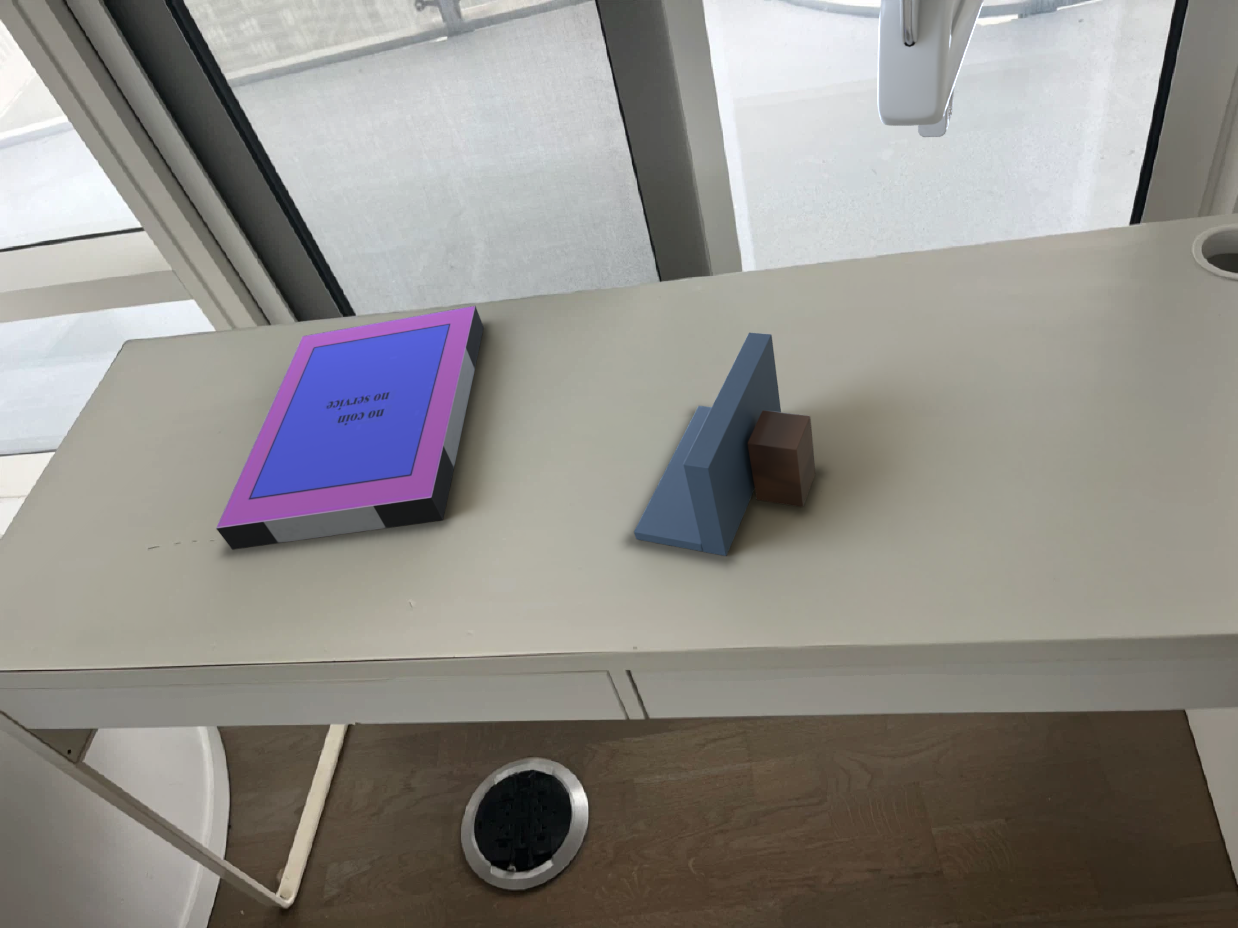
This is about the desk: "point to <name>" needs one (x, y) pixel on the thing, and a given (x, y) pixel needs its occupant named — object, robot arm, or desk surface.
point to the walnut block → (782, 457)
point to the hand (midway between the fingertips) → (935, 127)
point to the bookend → (715, 460)
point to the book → (359, 432)
